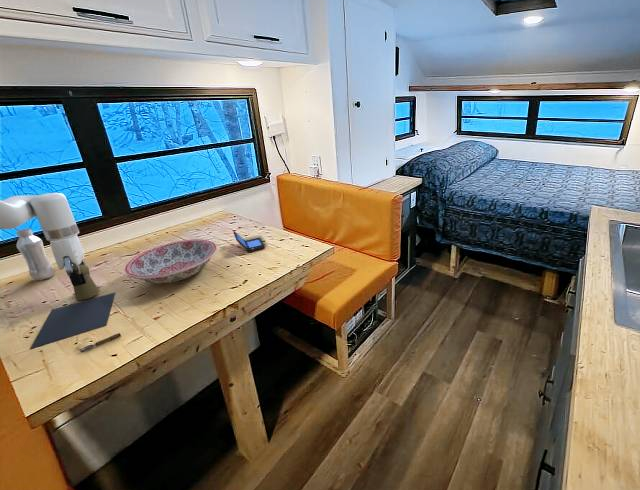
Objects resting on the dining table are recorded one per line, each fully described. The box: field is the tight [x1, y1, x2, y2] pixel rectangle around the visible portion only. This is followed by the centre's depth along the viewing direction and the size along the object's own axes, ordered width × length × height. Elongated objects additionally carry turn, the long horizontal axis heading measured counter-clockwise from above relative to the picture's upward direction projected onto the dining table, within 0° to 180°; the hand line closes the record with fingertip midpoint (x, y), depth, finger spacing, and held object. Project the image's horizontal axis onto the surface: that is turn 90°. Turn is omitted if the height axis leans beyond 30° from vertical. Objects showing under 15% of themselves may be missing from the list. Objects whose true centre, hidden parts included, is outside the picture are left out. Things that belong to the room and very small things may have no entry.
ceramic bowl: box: [124, 238, 218, 284], centre depth 116 cm, size 29×29×8 cm
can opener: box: [77, 332, 122, 353], centre depth 84 cm, size 9×2×1 cm, turn 126°
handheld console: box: [232, 230, 266, 254], centre depth 137 cm, size 12×11×7 cm
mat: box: [29, 292, 116, 350], centre depth 95 cm, size 16×20×1 cm
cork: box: [66, 264, 100, 301], centre depth 103 cm, size 6×6×11 cm
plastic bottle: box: [15, 228, 56, 281], centre depth 114 cm, size 6×7×20 cm
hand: (81, 280), depth 103 cm, fingers closed on cork, 5 cm apart
